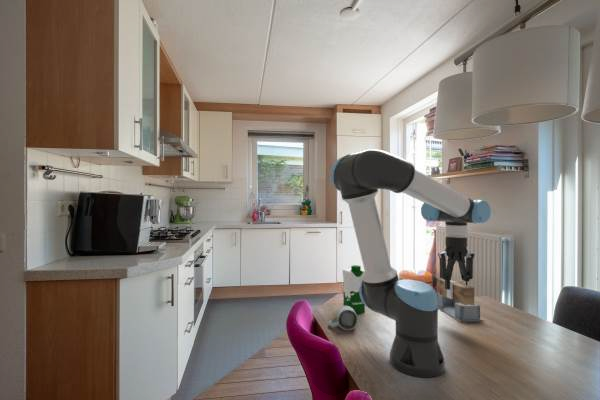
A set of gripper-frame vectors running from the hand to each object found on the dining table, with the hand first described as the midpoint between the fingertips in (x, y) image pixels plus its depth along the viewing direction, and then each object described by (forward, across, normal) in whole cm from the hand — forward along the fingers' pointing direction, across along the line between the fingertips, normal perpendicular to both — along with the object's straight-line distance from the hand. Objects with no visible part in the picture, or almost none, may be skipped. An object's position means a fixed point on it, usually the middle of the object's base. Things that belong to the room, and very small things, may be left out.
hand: (456, 297), depth 120 cm
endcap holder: (+11, -10, -16) cm, 22 cm away
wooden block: (+1, 0, 0) cm, 1 cm away
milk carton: (+12, +34, -23) cm, 42 cm away
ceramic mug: (+12, +42, -5) cm, 44 cm away
